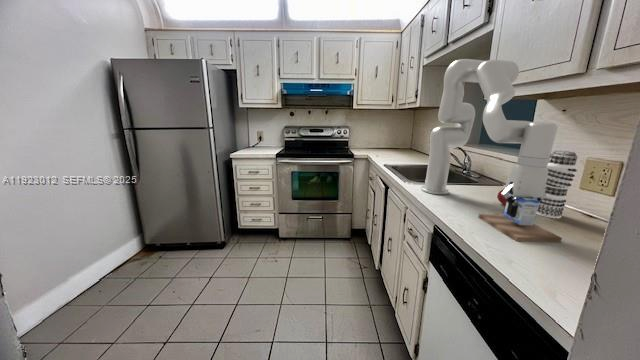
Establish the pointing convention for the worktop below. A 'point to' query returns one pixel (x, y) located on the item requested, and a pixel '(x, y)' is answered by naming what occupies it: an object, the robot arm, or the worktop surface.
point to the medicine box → (524, 211)
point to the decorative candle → (557, 183)
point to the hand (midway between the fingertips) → (518, 215)
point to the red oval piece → (501, 198)
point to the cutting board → (519, 229)
